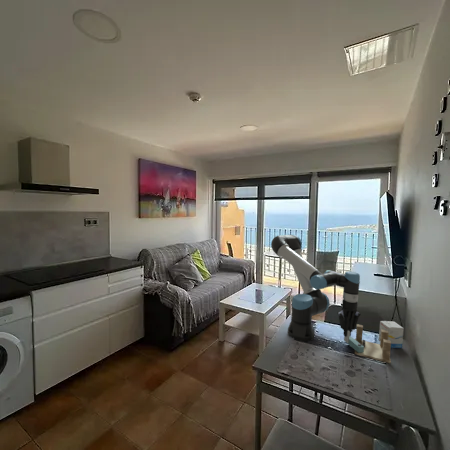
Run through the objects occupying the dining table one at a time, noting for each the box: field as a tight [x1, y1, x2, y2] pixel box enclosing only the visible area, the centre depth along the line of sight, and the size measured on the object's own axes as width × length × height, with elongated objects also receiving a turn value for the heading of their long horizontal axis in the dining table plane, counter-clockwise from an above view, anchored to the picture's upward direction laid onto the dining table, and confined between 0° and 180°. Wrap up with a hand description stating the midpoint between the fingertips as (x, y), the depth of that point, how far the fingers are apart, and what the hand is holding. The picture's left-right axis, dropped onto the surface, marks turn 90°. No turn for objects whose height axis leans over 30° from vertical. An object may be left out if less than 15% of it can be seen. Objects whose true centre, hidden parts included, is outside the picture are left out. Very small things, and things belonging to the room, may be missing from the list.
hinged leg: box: [345, 335, 364, 353], centre depth 138 cm, size 11×3×4 cm, turn 10°
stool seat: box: [354, 323, 392, 364], centre depth 136 cm, size 16×16×10 cm
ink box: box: [378, 320, 404, 349], centre depth 144 cm, size 9×8×12 cm
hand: (346, 341), depth 141 cm, fingers closed
